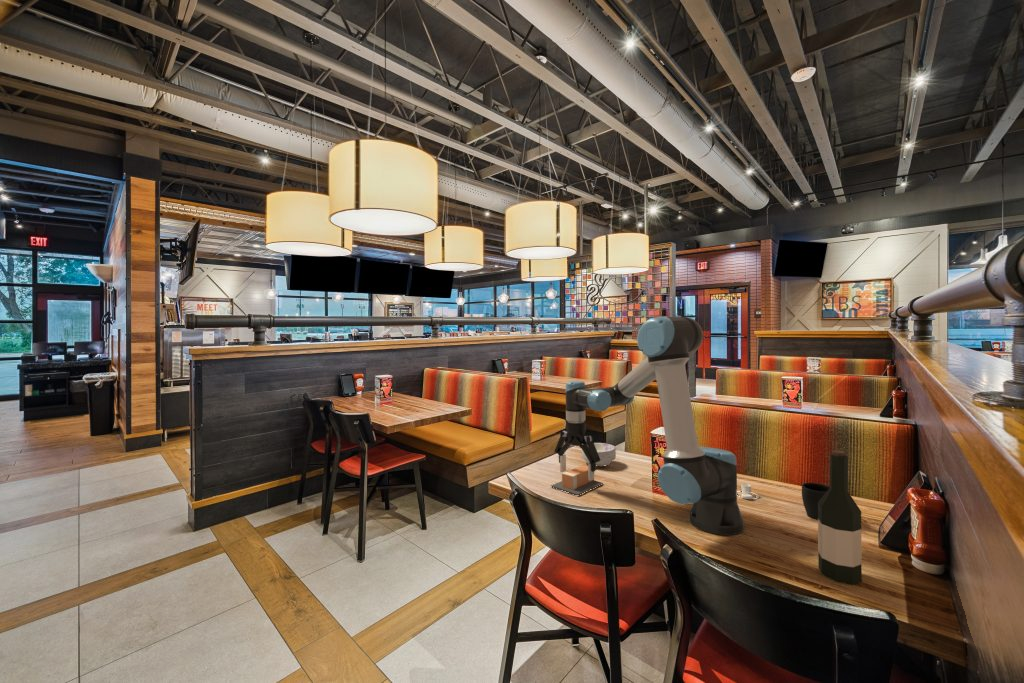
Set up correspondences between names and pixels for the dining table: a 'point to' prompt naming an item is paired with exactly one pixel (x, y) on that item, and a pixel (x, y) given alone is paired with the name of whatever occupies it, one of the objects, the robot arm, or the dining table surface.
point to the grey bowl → (603, 453)
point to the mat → (579, 489)
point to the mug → (813, 497)
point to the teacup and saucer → (747, 492)
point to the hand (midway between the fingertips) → (576, 475)
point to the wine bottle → (839, 527)
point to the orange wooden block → (575, 477)
